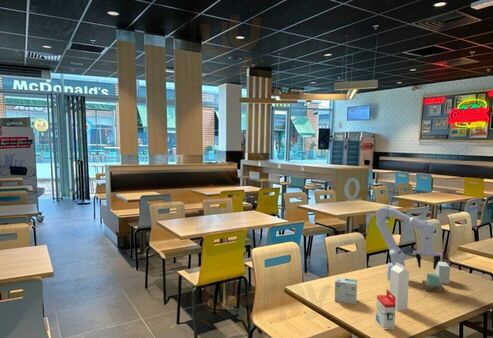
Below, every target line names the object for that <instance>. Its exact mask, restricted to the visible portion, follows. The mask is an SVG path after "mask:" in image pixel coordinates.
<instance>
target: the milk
mask: <svg viewBox="0 0 493 338" xmlns="http://www.w3.org/2000/svg"><path fill="white" fill-rule="evenodd" d="M409 279H410V272H409V270H407V269H404V266H403V265H401V264H399V263H397V262H396V265H395V266H393V267H392V268H391V270H390V280H389V291H390V292H391V293H392V294H393V295H394V296H395V298H396V301H395V304H396V306H395V311H405V310H408V302H409V300H408V299H409V298H408V297H409V283H410V282H409V281H410V280H409ZM390 296H391V295H390ZM391 297H392V296H391Z"/></svg>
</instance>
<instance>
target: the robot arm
mask: <svg viewBox="0 0 493 338" xmlns="http://www.w3.org/2000/svg"><path fill="white" fill-rule="evenodd" d="M375 215H376V216H375V217H376V218H375V222H376V223H375V224H376V226H377V228H378V230H379V232H380V234H381V236H382V238H383V240H384V242H385V244H386V246H387V248H388V250H389V256H390V262H388V263H387V265H386V266H387V269H386V276H387V279H388V280H389V281H390V270H391V268H392V267H393V266H395V265H396V262H397V263H399V264H401V265H403V266H404V269H405V268H406V267H405V266H406V264H405V261H406V259H407V256H406V254H405V253H404V252H403V251H402V249H401V248H400V247H399V246H398V244H397V242H396V240H395V238H394V237H393V234H392V233H391V231H390V229H389V226H388V224H387V220H388V218H391V217H395V218H398V219H400V220H402V221H405V222H407V223H408V225H409V226H411V227H413V229H414V228H415V229H417V230H418V231H422V243H421V244H422V245H421V250H413V252H412V254H413V256H415V258H416V261H417V266H418V268H419V269H421V263H422V257H421V256H428V257H433V267H432V268H433V270H435V269H436V266H437V264H438V262H441V259H442V258H443V253H442V252H436V251H434V246H435V231H436V226H435V224H434V223H432V222H428V221H427V220H423V219H421V218H420V217H419V216H410V215H407V214H406V213H404V212H402V211H400V210H399V209H397V208H395V207H392V206H390V205H384V206H382V207H381V206H380V207H378V209H377V210H376V213H375ZM405 270H406V269H405Z"/></svg>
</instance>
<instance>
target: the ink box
mask: <svg viewBox="0 0 493 338" xmlns="http://www.w3.org/2000/svg"><path fill="white" fill-rule="evenodd" d="M390 295H391V296H392V297H391V296H390ZM395 301H396V298H395V296H394V295H393V294H392V293H391V292H390V290H388V289H386V295H385V294H383V295H381V294H378V295H376V309H375V310H376V311H375V321H376V322H377V321H378V322H377V323H378V324H379V325H380V327H381V328H382V327H383V328H387V330H392V329H391V328H394V329H395V323H396V322H395V320H396V310H395V306H396V304H395ZM383 328H382V329H383ZM389 328H390V329H389Z"/></svg>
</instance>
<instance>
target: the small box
mask: <svg viewBox="0 0 493 338" xmlns="http://www.w3.org/2000/svg"><path fill="white" fill-rule="evenodd" d="M450 269H451V266H450V265H449V263H447V262H445V261H439V262H438V264H437V266H436V269H434V271H435V272H434V274H437V275H438V276H439V278H440V280H439V282H440V283H441V284H442V285H443V284H444V285H450V275H451V274H450V273H451V270H450Z"/></svg>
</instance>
